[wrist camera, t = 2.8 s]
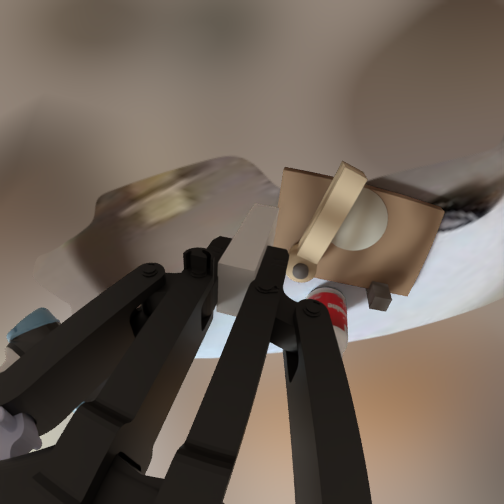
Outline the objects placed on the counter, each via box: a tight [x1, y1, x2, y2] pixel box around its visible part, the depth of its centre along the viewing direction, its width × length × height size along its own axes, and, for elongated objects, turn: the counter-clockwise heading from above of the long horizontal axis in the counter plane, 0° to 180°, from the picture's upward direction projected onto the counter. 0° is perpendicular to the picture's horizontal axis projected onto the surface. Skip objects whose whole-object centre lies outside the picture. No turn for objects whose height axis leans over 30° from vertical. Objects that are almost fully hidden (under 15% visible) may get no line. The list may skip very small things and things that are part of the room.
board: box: [273, 167, 445, 311], centre depth 30 cm, size 20×14×5 cm
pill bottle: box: [306, 287, 348, 357], centre depth 34 cm, size 6×6×11 cm
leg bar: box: [286, 161, 367, 282], centre depth 29 cm, size 14×4×4 cm, turn 159°
